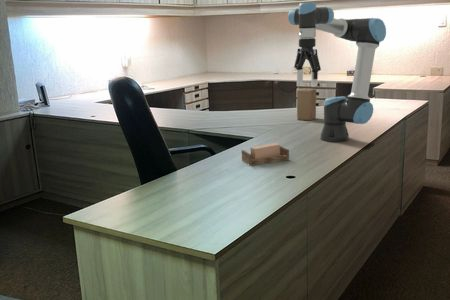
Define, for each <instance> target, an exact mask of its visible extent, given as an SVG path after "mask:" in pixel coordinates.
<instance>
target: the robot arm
mask: <svg viewBox="0 0 450 300" xmlns="http://www.w3.org/2000/svg"><path fill="white" fill-rule="evenodd" d="M287 18H288V19H287V20H288V22H289V24H290V25H293V26H298V38H299V39H298V48H297V51H296V59H295V62H294V69H295V70H296V84H297V85H298V84H300V85H301V84H303V83H304V78H303V77H304V74H303V72H304V68H303V67H304V65H305V62H306V60H307V61H308V64H309V65H310V69H311V79H310V81H311V83H310V84H311V88H313V87H318V83H319V82H318V81H319V80H318V78H319V77H318V74H319V71H321V70H322V68H321V64H320V60H319V55H318V49H317V48H316V49H314V48H315V47H316V45H317V44H316V43H317V42H316V40H317V39H316V35H317V34H316V33H317V32H316V31H321V32H325V33H329V34H333V36H334V37H336V38H339V39H343V40H346V41H349V42H355V45H356V46H357V48H358V49H357V52H356V53H357V54H356V60H355V65H354V66H355V67H354V72H353V79H352V86H351V91H350V94H348V95H347V96H343V95H342V96H333V97H327V98H325V100H324V105H323V110H324V111H323V127H322V129H321V132H320V140H322V141H325V142H333V143H334V142H335V143H337V142H346V141H348V140H349V139H350V138H349V131H348V128H347V124H346V123H349V124H350V123H351V124H355V125H365V124H367V123H368V122H369V121H370V120H371V118H372V116H373V113H374V105H373V104H372V102H371V98H370V97H369V90H370V85H371V80H372V73H373V72H372V71H373V67H374V59H375V54H376V50H377V49H378V48H379V47H380V43H381V42H383V41H384V40H385V39H386V37H387V27H386V24H385V22H384V20H383V19H381V18H379V17H378V18H377V17H368V18H353V19H352V18H351V19H346V18H338V19H337V18H335V12H334V10H333V8H331V7H327V6H320V7H318V6H317V4H316V2H302V3H301V2H300V3H299V5H298V8H294V9H291V10H290V11H289V12H288V16H287Z"/></svg>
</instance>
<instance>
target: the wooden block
mask: <svg viewBox="0 0 450 300" xmlns="http://www.w3.org/2000/svg"><path fill="white" fill-rule="evenodd" d="M296 96H297V97H296V106H297V107H296V109H297V110H296V116H297V117H296V119H297V120H298V119H299V121H309V120H310V121H312V120H314V119H316V118H317V116H316V115H317V114H316V113H317V89H316V88H305V87H304V88H300V89H297V91H296Z"/></svg>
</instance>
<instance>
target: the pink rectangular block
mask: <svg viewBox="0 0 450 300" xmlns="http://www.w3.org/2000/svg"><path fill="white" fill-rule="evenodd" d="M280 146H281V145H280V143H277V142H272V143H267V144H262V145H256V146H251V147H250V154H251V155H252V160H254V159H261V158H269V157H276V156H280Z"/></svg>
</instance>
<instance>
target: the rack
mask: <svg viewBox="0 0 450 300" xmlns="http://www.w3.org/2000/svg"><path fill="white" fill-rule="evenodd" d="M241 161H242V162H244V163H245V164H247V165H248V164H249V166H250V165H251V166H256V164H258V165H264V164H270V163H271V164H272V163H278V162H284V161H290V150H289V149H287V147H284V146H282V145H280V156H276V157H269V158H261V159H254V160H252V155H251V152H248V151H247V150H244V149H241Z"/></svg>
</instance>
